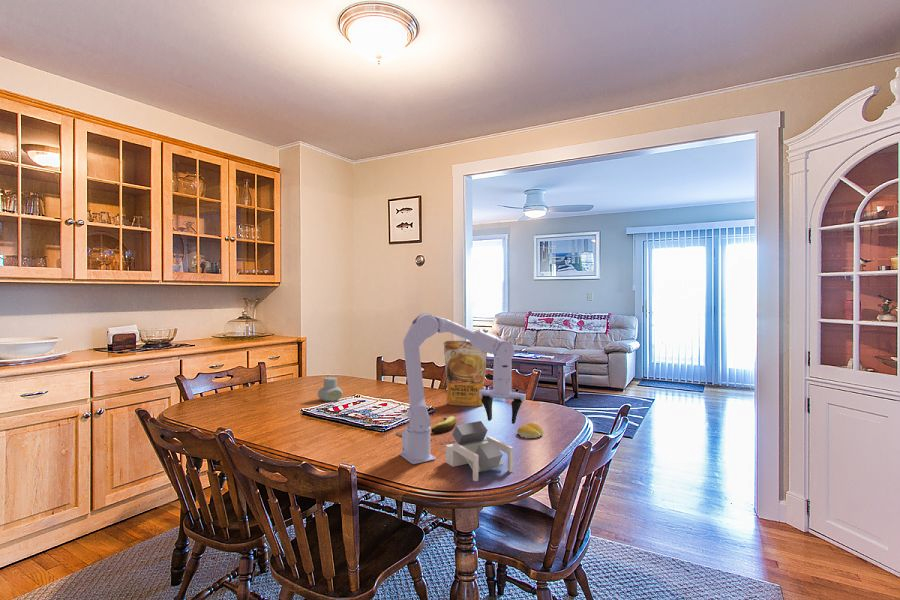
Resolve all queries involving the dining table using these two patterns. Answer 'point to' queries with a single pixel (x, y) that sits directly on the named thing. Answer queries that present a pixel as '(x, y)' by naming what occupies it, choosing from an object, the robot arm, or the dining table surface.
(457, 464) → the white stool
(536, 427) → the bread roll
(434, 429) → the yellow and brown crescent
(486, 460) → the grey cube
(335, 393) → the air freshener
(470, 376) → the pancake mix bag
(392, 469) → the dining table surface
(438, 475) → the dining table surface
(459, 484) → the dining table surface
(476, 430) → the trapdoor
